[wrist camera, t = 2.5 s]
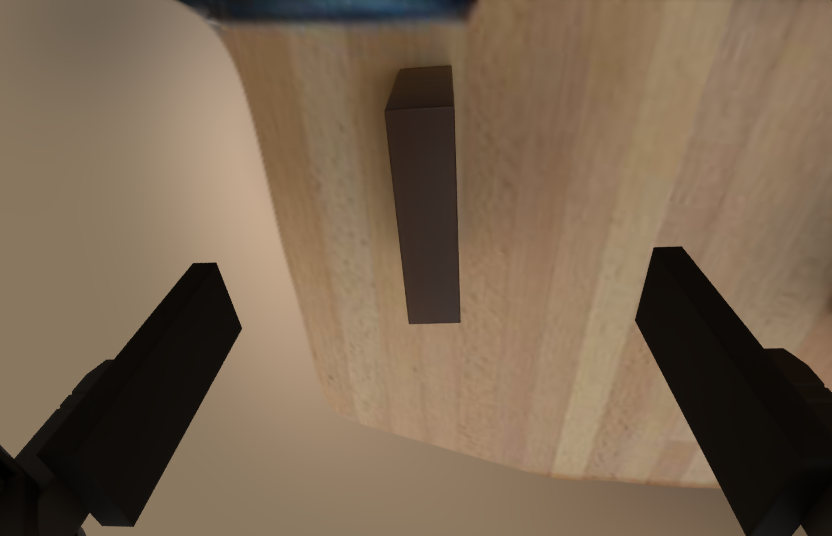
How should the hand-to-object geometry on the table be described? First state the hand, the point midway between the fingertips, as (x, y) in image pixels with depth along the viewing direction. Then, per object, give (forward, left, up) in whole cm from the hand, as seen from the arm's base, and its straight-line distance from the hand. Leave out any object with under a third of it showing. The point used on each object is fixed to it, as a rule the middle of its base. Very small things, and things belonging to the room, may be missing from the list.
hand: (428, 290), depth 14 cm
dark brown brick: (0, 0, -9) cm, 9 cm away
